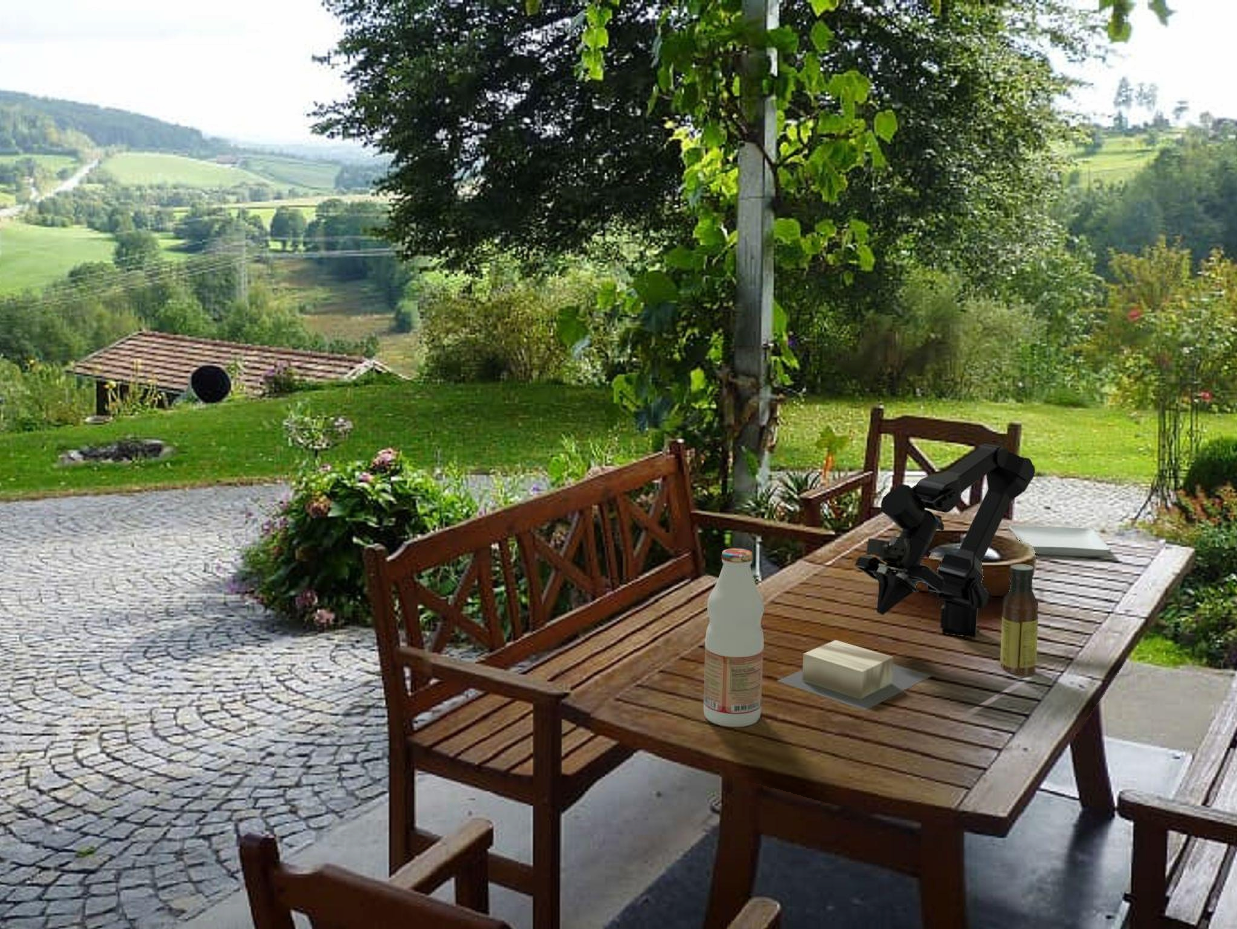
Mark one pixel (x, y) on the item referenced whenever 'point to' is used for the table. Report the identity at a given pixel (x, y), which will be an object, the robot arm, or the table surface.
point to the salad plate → (1062, 540)
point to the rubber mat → (900, 682)
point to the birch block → (847, 669)
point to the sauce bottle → (1019, 623)
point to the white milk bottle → (734, 645)
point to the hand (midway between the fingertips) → (879, 613)
